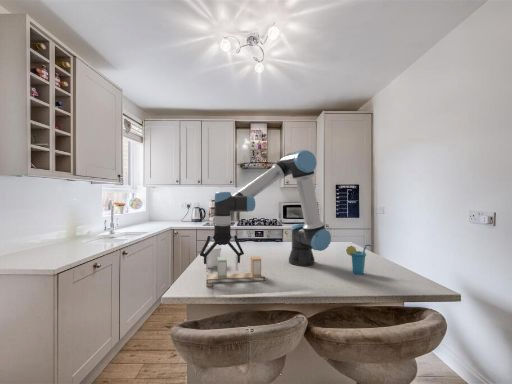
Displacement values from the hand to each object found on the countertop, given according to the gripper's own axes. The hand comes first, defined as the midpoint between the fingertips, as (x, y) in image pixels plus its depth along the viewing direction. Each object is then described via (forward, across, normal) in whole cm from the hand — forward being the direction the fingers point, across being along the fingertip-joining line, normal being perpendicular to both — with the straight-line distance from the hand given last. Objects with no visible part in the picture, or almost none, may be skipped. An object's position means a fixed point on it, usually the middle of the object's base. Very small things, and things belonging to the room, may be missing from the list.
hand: (221, 270), depth 122 cm
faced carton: (+4, -16, 0) cm, 16 cm away
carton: (+4, 0, 0) cm, 4 cm away
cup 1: (+5, +4, -24) cm, 24 cm away
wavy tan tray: (+5, -6, 0) cm, 8 cm away
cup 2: (+5, -71, -2) cm, 71 cm away
